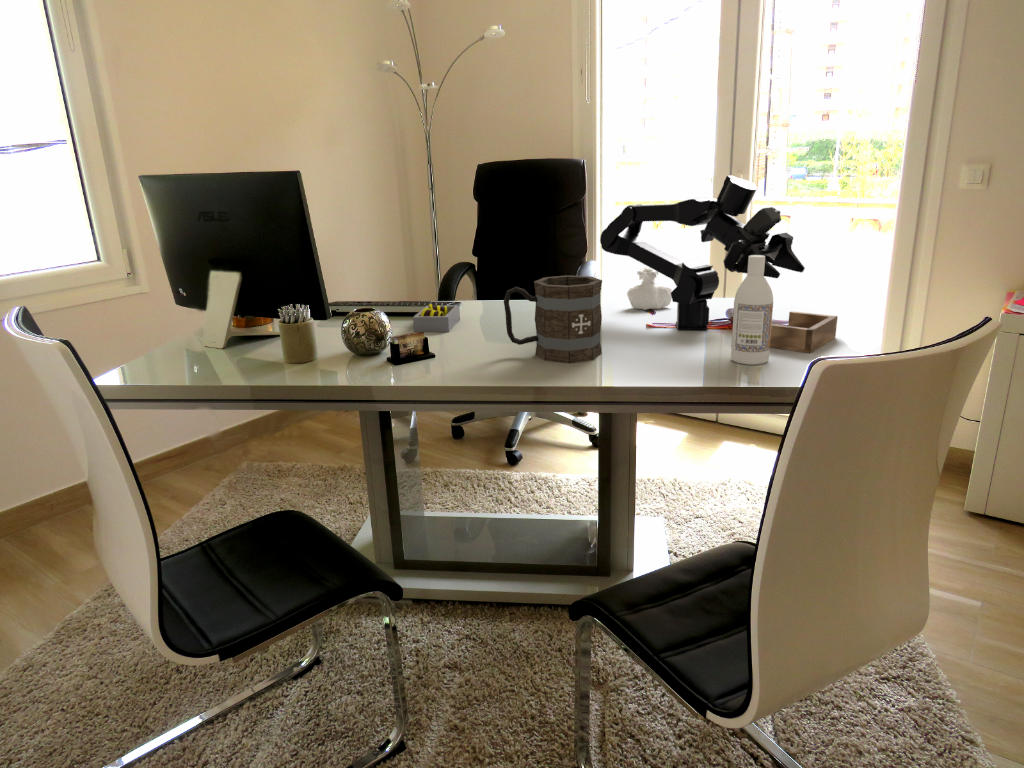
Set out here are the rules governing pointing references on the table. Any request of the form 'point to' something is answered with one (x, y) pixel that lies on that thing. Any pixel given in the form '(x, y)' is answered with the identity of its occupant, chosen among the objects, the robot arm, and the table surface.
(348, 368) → the table surface
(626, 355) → the table surface
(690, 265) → the robot arm
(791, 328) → the u rest
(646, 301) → the white tied sack
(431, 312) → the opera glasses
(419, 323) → the valet tray
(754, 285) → the bath foam
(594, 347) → the mug
